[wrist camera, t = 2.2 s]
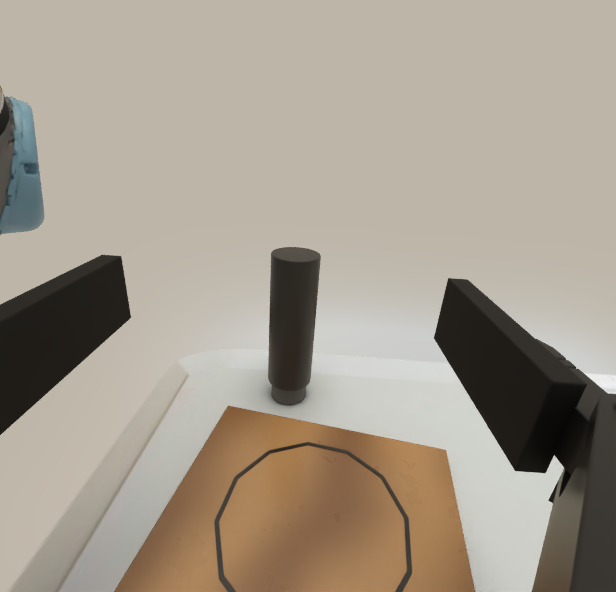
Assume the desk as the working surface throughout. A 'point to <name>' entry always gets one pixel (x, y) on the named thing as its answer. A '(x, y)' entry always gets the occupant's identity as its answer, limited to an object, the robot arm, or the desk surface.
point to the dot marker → (292, 321)
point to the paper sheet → (306, 515)
